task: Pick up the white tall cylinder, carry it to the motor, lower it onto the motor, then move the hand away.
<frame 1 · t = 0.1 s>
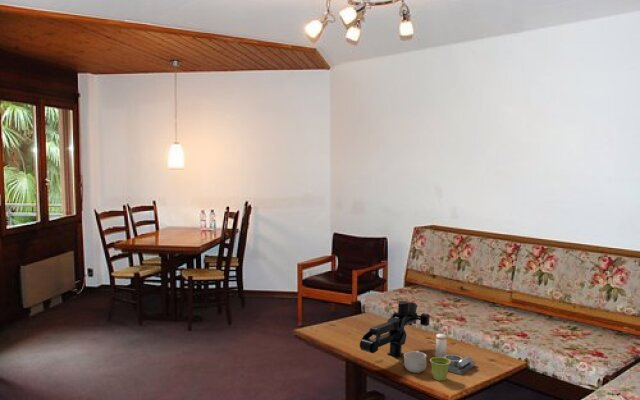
hand: (421, 314, 304), 17 cm above the table, tool horizontal, fingers open, 9 cm apart
teacup: (415, 370, 265), on the table
white tall cylinder: (440, 358, 282), on the table
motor: (453, 366, 271), on the table
plant pot: (439, 379, 255), on the table
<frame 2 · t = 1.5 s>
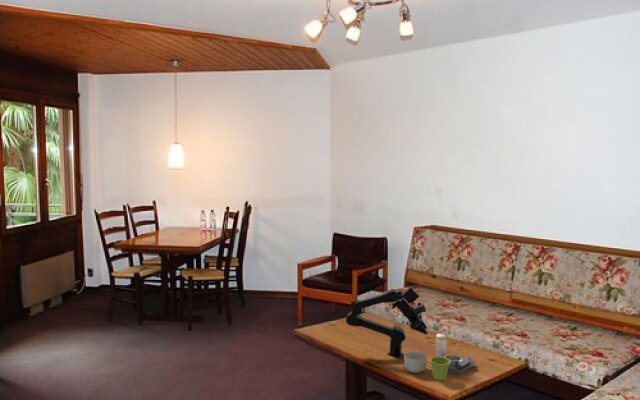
hand: (426, 331, 282), 14 cm above the table, tool tilted 45°, fingers open, 9 cm apart
nothing on the table moved.
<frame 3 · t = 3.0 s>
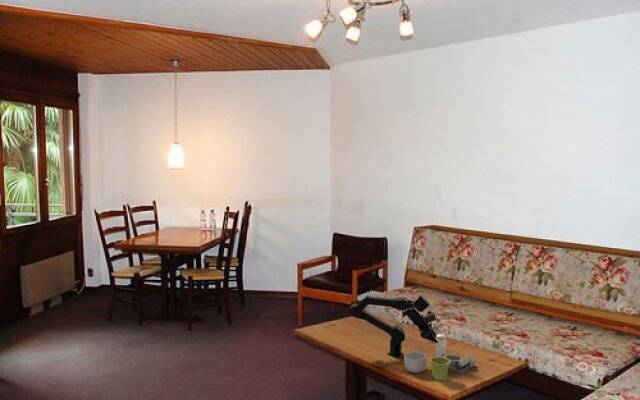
hand: (437, 339, 282), 9 cm above the table, tool tilted 45°, fingers open, 9 cm apart
nothing on the table moved.
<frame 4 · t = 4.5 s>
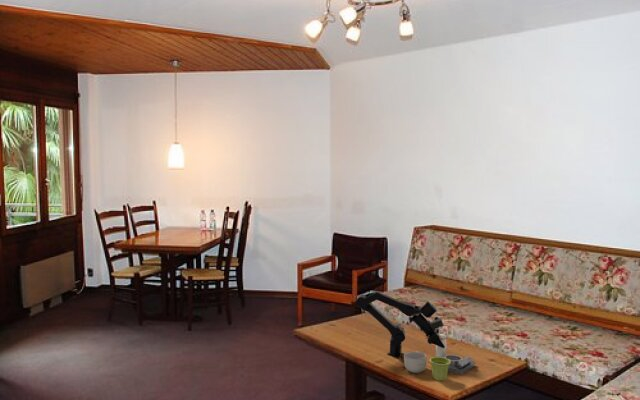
hand: (444, 345, 281), 7 cm above the table, tool tilted 45°, fingers closed on white tall cylinder, 5 cm apart
white tall cylinder: (440, 358, 282), on the table, touching gripper
everything else where it was.
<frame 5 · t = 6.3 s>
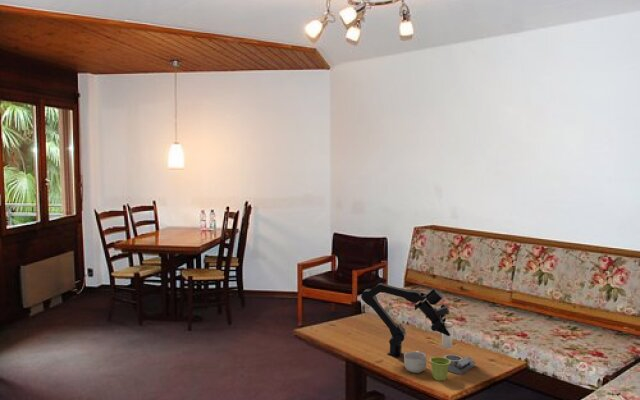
hand: (450, 333, 277), 14 cm above the table, tool tilted 45°, fingers closed on white tall cylinder, 5 cm apart
white tall cylinder: (447, 346, 278), point 8 cm above the table, touching gripper
everything else where it was.
when the fingers open (9 cm above the table, at t = 8.2 s): white tall cylinder stays where it is, resting on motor.
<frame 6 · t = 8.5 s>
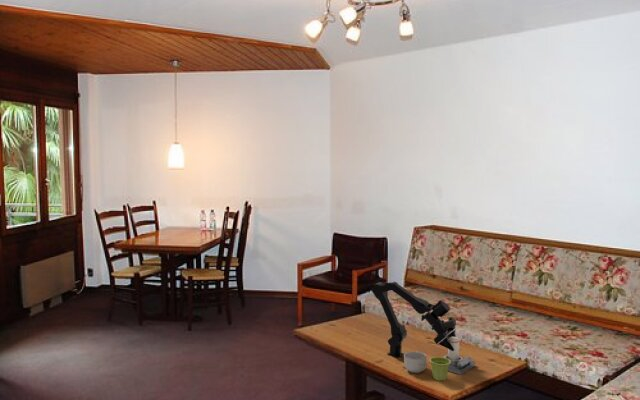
hand: (456, 347, 270), 9 cm above the table, tool tilted 45°, fingers open, 9 cm apart
white tall cylinder: (452, 362, 271), point 2 cm above the table, touching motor
everything else where it was.
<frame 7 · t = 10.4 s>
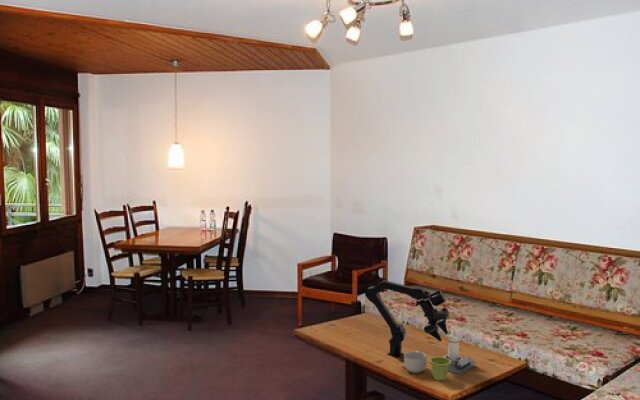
hand: (444, 337, 277), 12 cm above the table, tool tilted 30°, fingers open, 9 cm apart
nothing on the table moved.
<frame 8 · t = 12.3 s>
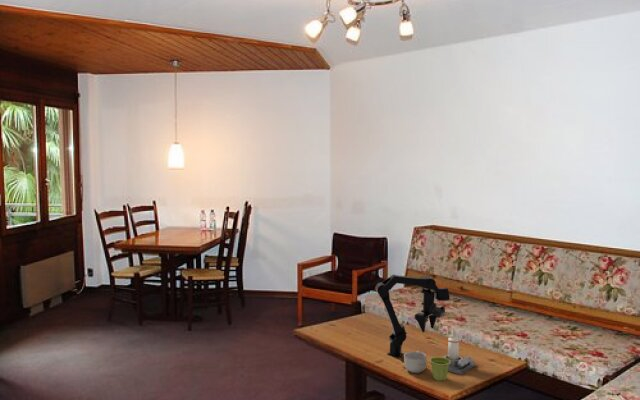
hand: (427, 330, 286), 13 cm above the table, tool pointing down, fingers open, 9 cm apart
nothing on the table moved.
at the end: white tall cylinder 0.1 cm off-centre on the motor, point 2.0 cm above the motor's base; white tall cylinder tilted 0°; the gripper is holding nothing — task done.
